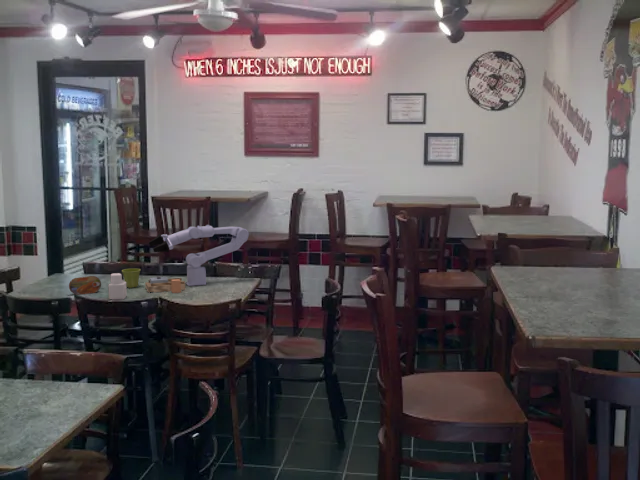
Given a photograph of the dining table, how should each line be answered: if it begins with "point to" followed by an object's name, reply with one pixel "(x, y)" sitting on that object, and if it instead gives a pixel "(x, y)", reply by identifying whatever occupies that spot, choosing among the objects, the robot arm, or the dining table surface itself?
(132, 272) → the plant pot
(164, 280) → the slate cover
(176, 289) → the terracotta block
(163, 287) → the puzzle board
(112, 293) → the medicine bottle
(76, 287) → the tin
